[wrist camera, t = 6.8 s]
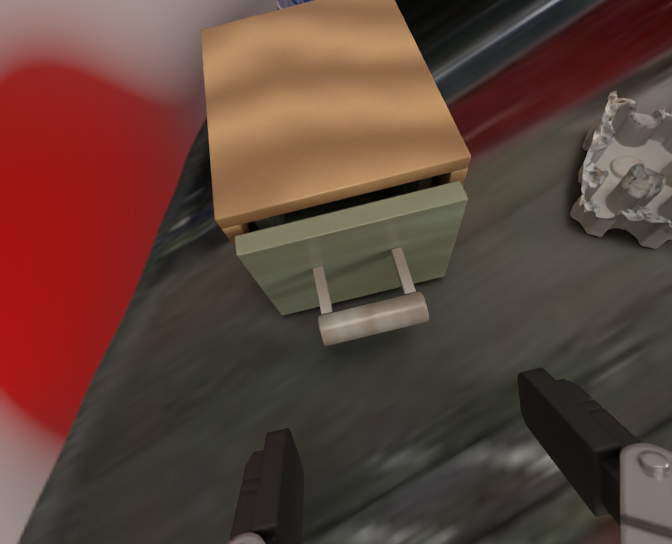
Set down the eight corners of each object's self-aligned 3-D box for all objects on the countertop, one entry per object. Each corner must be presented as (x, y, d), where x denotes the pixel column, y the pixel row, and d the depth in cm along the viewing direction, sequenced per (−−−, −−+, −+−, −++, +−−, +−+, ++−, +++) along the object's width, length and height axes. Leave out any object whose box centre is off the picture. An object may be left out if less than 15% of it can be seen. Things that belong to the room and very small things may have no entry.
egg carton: (584, 126, 32) (609, 82, 28) (690, 147, 30) (732, 103, 26) (557, 229, 28) (582, 194, 24) (676, 262, 26) (724, 229, 22)
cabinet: (443, 259, 28) (472, 156, 18) (274, 301, 28) (214, 220, 19) (386, 111, 35) (385, -19, 25) (251, 146, 35) (200, 29, 26)
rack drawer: (467, 337, 24) (505, 279, 16) (291, 379, 25) (244, 342, 17) (388, 127, 33) (388, 23, 25) (258, 160, 33) (217, 67, 25)
